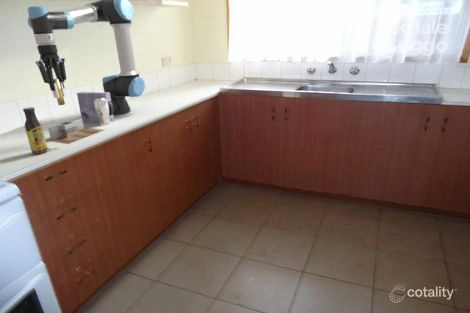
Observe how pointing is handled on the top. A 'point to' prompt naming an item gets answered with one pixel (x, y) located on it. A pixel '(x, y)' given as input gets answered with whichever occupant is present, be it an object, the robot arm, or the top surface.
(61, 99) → the hinge pin
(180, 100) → the top surface
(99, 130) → the walnut board
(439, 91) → the top surface
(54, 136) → the grey rectangular block
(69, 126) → the grey block
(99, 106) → the beer glass
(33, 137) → the sauce bottle
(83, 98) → the cake pan box
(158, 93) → the top surface
